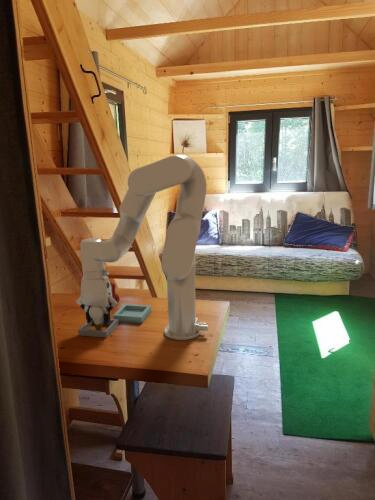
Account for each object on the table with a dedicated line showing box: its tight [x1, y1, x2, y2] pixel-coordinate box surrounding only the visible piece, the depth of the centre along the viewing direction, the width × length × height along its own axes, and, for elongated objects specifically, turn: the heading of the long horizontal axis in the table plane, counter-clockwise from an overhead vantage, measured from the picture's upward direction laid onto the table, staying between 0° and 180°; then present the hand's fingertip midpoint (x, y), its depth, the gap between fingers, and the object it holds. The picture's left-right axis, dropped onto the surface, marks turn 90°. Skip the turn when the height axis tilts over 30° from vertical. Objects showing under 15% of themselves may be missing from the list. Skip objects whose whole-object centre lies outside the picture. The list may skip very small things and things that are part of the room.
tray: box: [112, 303, 152, 324], centre depth 145 cm, size 11×11×2 cm
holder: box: [77, 318, 120, 338], centre depth 135 cm, size 10×10×2 cm
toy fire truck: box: [108, 281, 120, 305], centre depth 158 cm, size 7×12×10 cm, turn 48°
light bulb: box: [89, 306, 105, 330], centre depth 134 cm, size 6×6×10 cm
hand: (98, 321), depth 134 cm, fingers closed on light bulb, 5 cm apart
